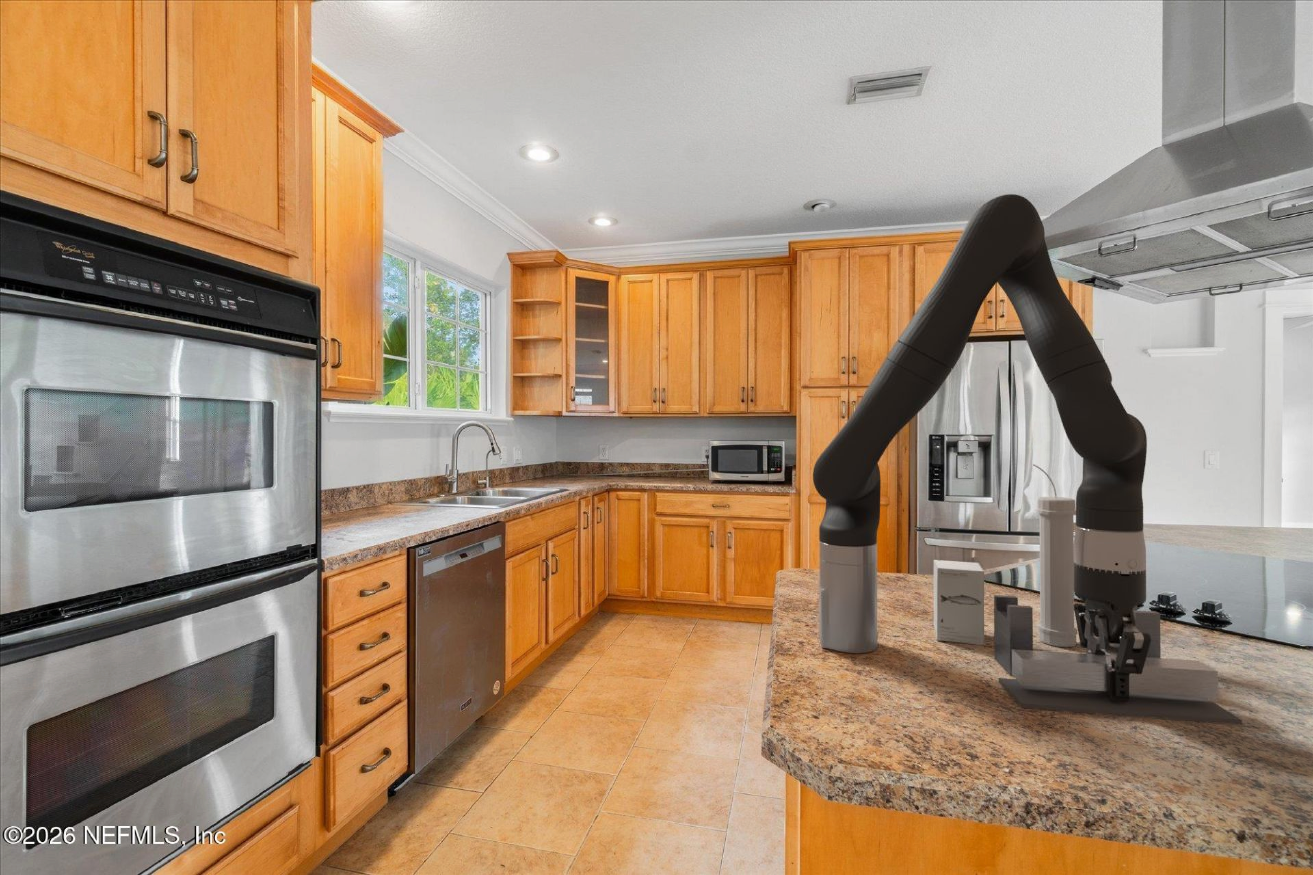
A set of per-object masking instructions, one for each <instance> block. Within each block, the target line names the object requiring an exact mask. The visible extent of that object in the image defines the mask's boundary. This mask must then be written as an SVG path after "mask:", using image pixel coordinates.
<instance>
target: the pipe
mask: <svg viewBox="0 0 1313 875" xmlns="http://www.w3.org/2000/svg"><path fill="white" fill-rule="evenodd" d="M1032 466H1034V467H1035V468H1037V469H1039V470H1040V471H1041V472H1043V473H1044V474H1045V475H1046V477H1047V478H1048V479H1049V481H1050V484H1051V485H1052V488H1053V492H1054V496H1040V497H1038V498H1037V502H1036V503H1037V508H1036V513H1037V514H1039V612H1040V613H1039V617H1040V618H1039V620H1040V621H1039V622H1038V623H1037V625H1036V626H1037V627H1036V628H1037V629H1038V633H1037V634H1038V639H1039V641H1040V642H1041V643H1044V644H1046V645H1050V646H1053V647H1057V648H1058V647H1059V648H1072V647H1075V646H1076V645H1077V634H1078V628H1077V627H1075V611H1074V604H1075V592H1074V537H1075V531H1074V516H1076V499H1073V498H1071V497H1062V496H1057V491H1056V488H1055V485H1054V481H1053V480H1052V479H1051V477H1050V476H1049V474H1048V473H1047V472H1046V471H1044V469H1042V468H1041V467H1039V466H1038V465H1037V464H1034V463H1033V464H1032Z"/></svg>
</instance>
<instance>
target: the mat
mask: <svg viewBox="0 0 1313 875" xmlns="http://www.w3.org/2000/svg"><path fill="white" fill-rule="evenodd" d="M998 683H999V685H1001V686H1002V688H1003V689H1004V690H1005V691H1006V692H1007V693H1008V695H1009V696H1010V697H1011V698H1012V699H1013V700H1014V701H1015V703H1016V704H1018V706H1020V708H1021V709H1032V710H1044V711H1045V710H1046V711H1058V712H1059V711H1060V712H1069V713H1071V712H1072V713H1082V714H1083V713H1086V714H1098V715H1107V716H1109V715H1110V716H1124V717H1135V718H1149V719H1162V720H1173V721H1174V720H1176V721H1189V722H1200V723H1214V724H1227V725H1241V726H1243V719H1241V718H1240V717H1238V716H1237V715H1235V714H1233V713H1232V712H1230V711H1229V710H1227V709H1225V708H1223V707H1222V706H1220V705H1219V704H1217V703H1216V702H1214V701H1212V699H1207V698H1193V697H1179V696H1165V695H1151V694H1137V693H1129V701H1128V702H1114V701H1111V700H1110V699H1109V698H1108V697H1107V691H1095V690H1082V689H1068V688H1054V687H1040V686H1026V685H1022V684H1021V683H1020V682H1019V681H1018V680H1017V679H1016V678H1007V677H1006V678H1004V677H998Z"/></svg>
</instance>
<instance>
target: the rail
mask: <svg viewBox="0 0 1313 875" xmlns="http://www.w3.org/2000/svg"><path fill="white" fill-rule="evenodd" d="M1114 656H1115V655H1114ZM1116 657H1117V656H1115V661H1116ZM1132 661H1134V660H1132ZM1107 670H1108V669H1107V664H1106V655H1098V654H1087V653H1082V652H1081V653H1079V652H1064V651H1063V652H1061V651H1047V650H1046V651H1045V650H1033V651H1032V650H1016V649H1012V675H1013V677H1014V679H1017V680H1018V681H1019V682H1020V683H1021V684H1022V685H1026V686H1040V687H1054V688H1068V689H1082V690H1095V691H1107ZM1129 693H1137V694H1151V695H1165V696H1179V697H1193V698H1207V699H1209V700H1219V671H1218V670H1217V669H1214V668H1213V667H1211V666H1210V665H1207V664H1205V663H1204V662H1201V661H1199V660H1195V659H1177V658H1163V657H1162V658H1148V657H1146V660H1145V664H1144V667H1143V671H1142V674H1130V675H1129Z"/></svg>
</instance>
